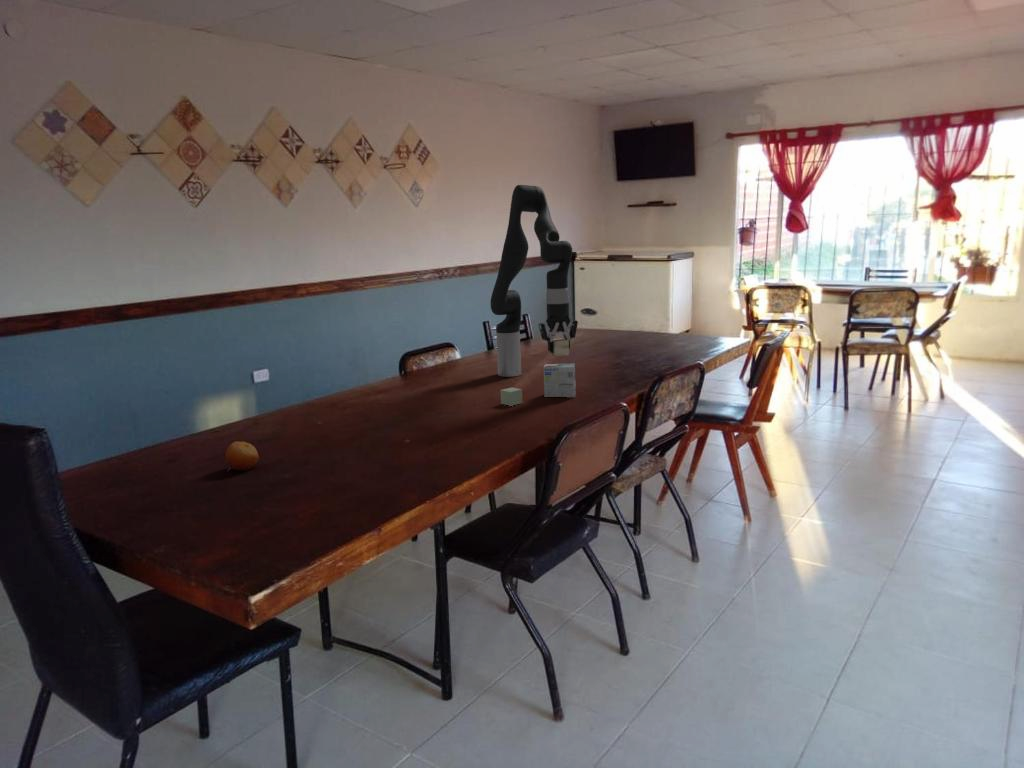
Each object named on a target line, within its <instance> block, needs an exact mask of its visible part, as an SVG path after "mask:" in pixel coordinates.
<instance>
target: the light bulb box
mask: <svg viewBox="0 0 1024 768" xmlns="http://www.w3.org/2000/svg"><path fill="white" fill-rule="evenodd" d="M542 368H543V394H544V397H567V398H575V397H576V368H575V363H553V364H552V363H549V364H548V363H545V364H544V366H543V367H542Z"/></svg>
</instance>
